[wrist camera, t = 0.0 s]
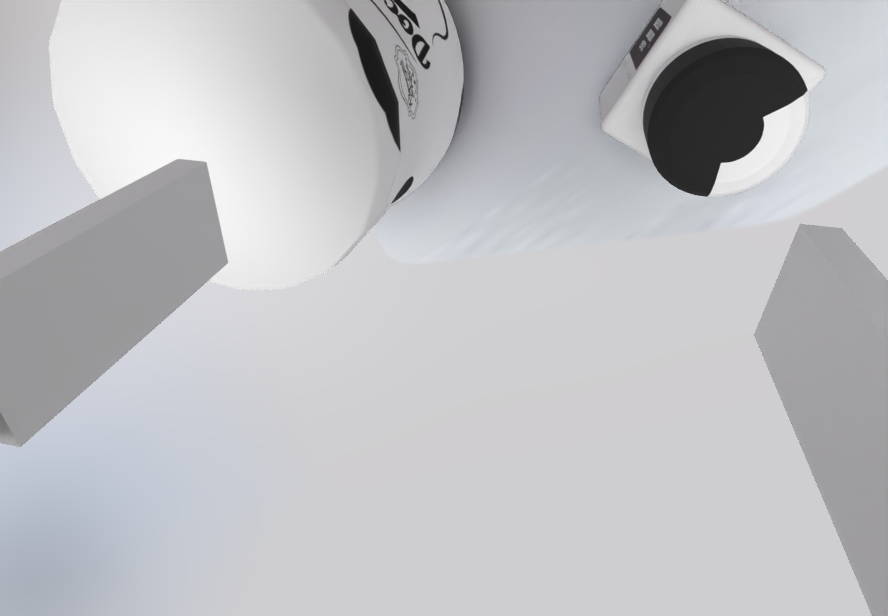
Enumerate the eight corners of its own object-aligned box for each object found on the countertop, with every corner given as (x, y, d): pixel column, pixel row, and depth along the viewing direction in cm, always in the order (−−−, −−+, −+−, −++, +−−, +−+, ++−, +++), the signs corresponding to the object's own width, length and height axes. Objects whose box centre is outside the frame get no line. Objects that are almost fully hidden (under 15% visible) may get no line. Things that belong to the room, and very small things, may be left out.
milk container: (471, -95, 32) (373, -127, 18) (477, 189, 42) (416, 323, 27) (207, -74, 36) (-56, -85, 21) (267, 183, 45) (113, 299, 31)
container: (596, 98, 37) (599, 161, 26) (677, -24, 32) (720, -7, 22) (694, 158, 37) (735, 244, 27) (786, 47, 33) (880, 97, 22)
